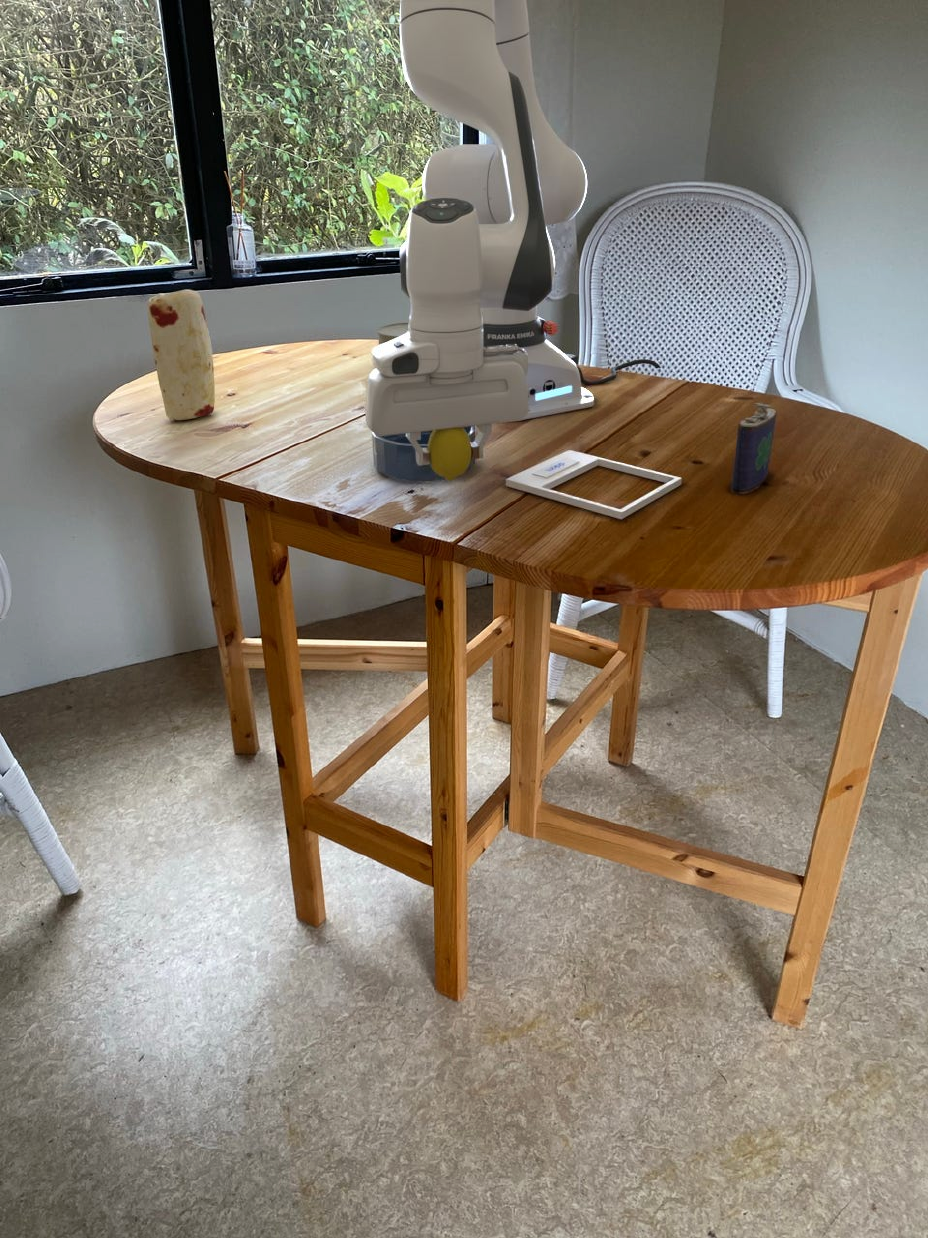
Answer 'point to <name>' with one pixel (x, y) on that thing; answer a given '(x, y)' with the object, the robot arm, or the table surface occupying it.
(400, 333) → the can
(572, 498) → the photo frame
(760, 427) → the flask
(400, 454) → the bowl
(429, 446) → the lemon
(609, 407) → the table surface
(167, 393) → the food model
